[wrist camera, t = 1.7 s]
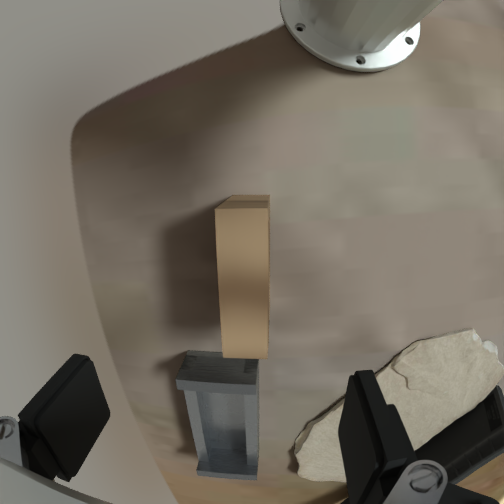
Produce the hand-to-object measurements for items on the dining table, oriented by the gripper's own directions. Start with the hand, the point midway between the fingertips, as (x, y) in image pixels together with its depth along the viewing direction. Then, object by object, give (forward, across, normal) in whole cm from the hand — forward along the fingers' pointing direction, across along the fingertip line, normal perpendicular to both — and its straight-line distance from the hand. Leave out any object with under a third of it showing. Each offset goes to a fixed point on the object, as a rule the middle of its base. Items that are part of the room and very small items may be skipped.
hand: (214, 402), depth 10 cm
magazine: (+18, -23, +30) cm, 42 cm away
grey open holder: (+18, +3, +18) cm, 25 cm away
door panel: (+18, 0, 0) cm, 18 cm away
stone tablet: (+18, -17, +20) cm, 32 cm away
